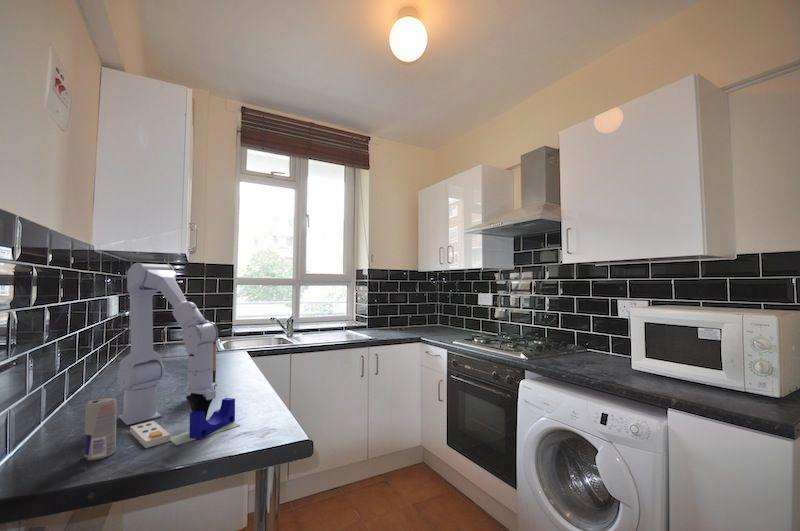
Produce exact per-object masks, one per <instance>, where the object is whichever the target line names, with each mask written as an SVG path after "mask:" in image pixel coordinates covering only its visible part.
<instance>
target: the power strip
mask: <svg viewBox="0 0 800 531" xmlns="http://www.w3.org/2000/svg"><path fill="white" fill-rule="evenodd" d="M129 430H130V431H129V432H130V434H131V435H132V436H133V437H134V438H135V439H136V440H137V441H138V442H139V443H140V444H141V445H142V446H143V447H144V448H145V449H148V448H151V447H154V446H157V445H161V444H165V443H168V442H171V441H170V437H171V434H170V433H169V431H167V430H165V428H163V427H162V426H161V425H159V424H158V423H157V422H156V421H154V420H151V421H146V422H143V423H139V424H135V425H131V426H130V427H129Z"/></svg>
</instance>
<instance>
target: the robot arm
mask: <svg viewBox="0 0 800 531" xmlns="http://www.w3.org/2000/svg"><path fill="white" fill-rule="evenodd" d="M126 279H127V281H126V282H127V284H126V287H127V292H128V293H129V312H130V313H129V316H130V317H129V320H130V323H129V326H130V353H129V354H127V355H126V356H125V357H124V358H123V359H121V360H120V361H119V369H118V373H117V379H116V380H117V383H118V385H119V386H120V387H121V388H122V390H125V391H124V394H123V409H122V410H123V411H122V412H123V414H121V415H119V416H118V418H119V419H120V420H121V421H122V422H124V424H125V425H127V426H129V425H133V424H137V423H141V422H145V421H146V422H147V421H149V420H154V419H157V418H161V417H162V415H161V414H160V412H158V411H157V385H158V384H160V381H161V380H162V378H164V377H163V376H164V374H165V366H164V364H163V361H162V355H161V354H160V353H158V352H156V351H155V350H154V327H153V326H154V323H153V321H154V320H153V319H154V318H153V312H154V311H153V296H155V295H156V294H157V293H159V292H161V294H162V295H163V296H164V297H165V298H166V300H167V301H168V302H169V303H170V305H171V306H172V307H173V310H172V316H173V317H174V319H175V321H176V322H177V323H178V325H179V326H180V328H181V330H182V331H183V334H182V340H183V344H184V345H185V351H186V353H187V357H188V359H187V361H188V362H187V382H186V385H185V386H186V392H187V393H190V394H188V395H186V397H185V399H186V400H187V402H188V404H189V406H190V409H191V412H193V411H201V412H205V418H206V419H207V417H208V412H209V409H210V407H211V403H212V402H213V399H217V398H216V397H217V394H216V392H217V391H216V389H215V390H214V387H215V388H216V387H218V383H217V382H215V383H213V343H214V342H215V341H216V342H217V340H218V337H219V329H218V327H217V325H216V323H215V322H213V321H210V320H208V319H206V318H205V317H204V315H203V314H202V313H201V311H200V310H199V309H198V306H197V305H196V303H194V302H192V301H188V300H187V298H186V297H185V295H184V293H183V291H182V289H181V287H180V286H179V285H178V283H177V281H176V280H177V272H176V270H175V269H174V267H173V265H172V264H169V263H165V264H163V263H162V264H159V263H143V262H135V263H133V264H131V266H130V268H129V269H128V270H127V271H126ZM191 393H193V394H192V395H191Z"/></svg>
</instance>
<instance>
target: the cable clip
mask: <svg viewBox="0 0 800 531" xmlns="http://www.w3.org/2000/svg"><path fill="white" fill-rule="evenodd" d="M232 422H236V398H235V397H224V398H222V399H221V404H220V408H219V409H217V410H215V411H213V413H212V415H211V416H210V417H209V418H208V419H207V417H206V418H205V412H201V411H193V412H192V411H191V412H189V431H190V438H193V439H196V440H201V439H203V438H205V437H207V435H208V436H210V435H209V434H211V433H212V432H214V431H216V430H218V429H220V428H222V427H224V426H226V425H228V424H230V423H232Z"/></svg>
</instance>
